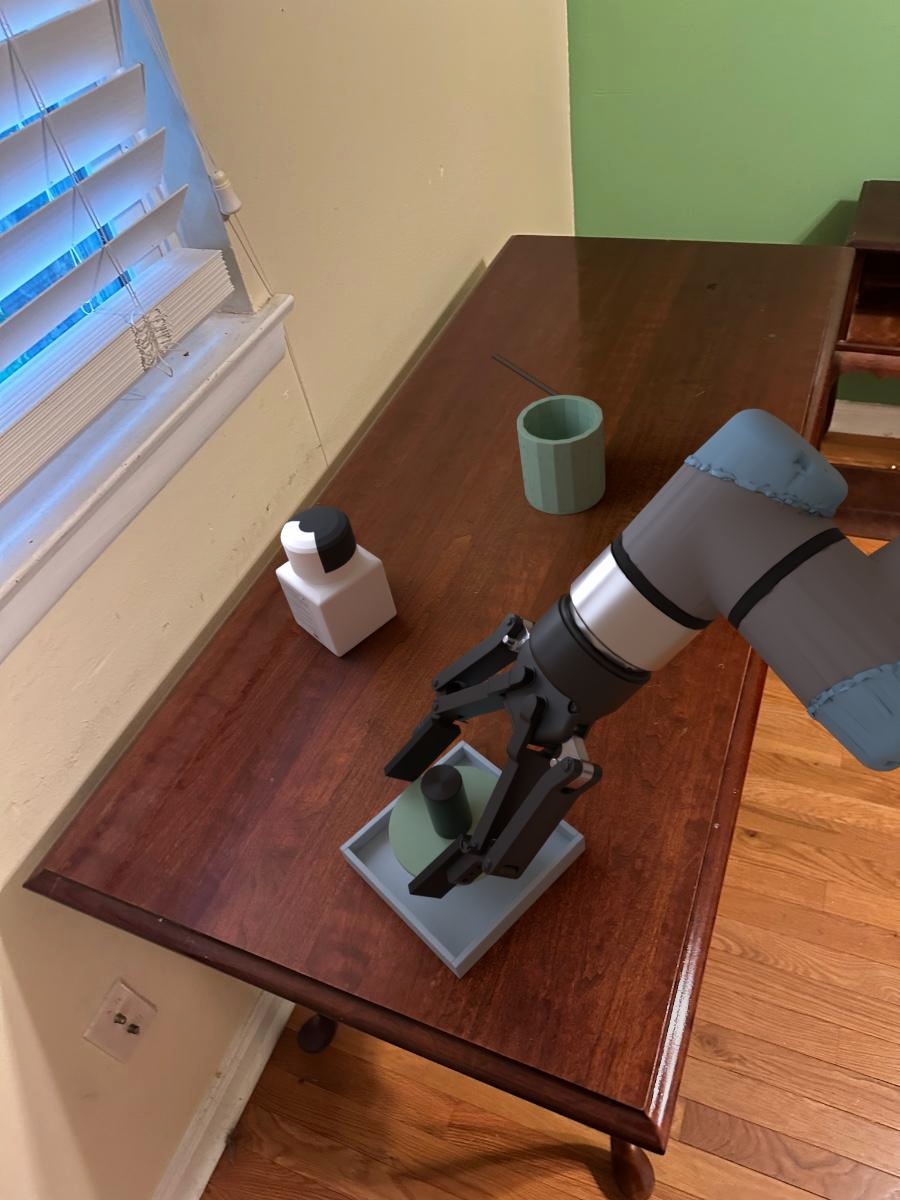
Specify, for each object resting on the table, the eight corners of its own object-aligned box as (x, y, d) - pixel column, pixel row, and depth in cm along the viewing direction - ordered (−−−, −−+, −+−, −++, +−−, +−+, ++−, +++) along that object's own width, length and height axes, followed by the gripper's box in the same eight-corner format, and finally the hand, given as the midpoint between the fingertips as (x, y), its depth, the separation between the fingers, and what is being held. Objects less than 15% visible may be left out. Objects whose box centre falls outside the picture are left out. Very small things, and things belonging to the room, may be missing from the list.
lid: (547, 825, 63) (539, 776, 59) (452, 919, 60) (436, 875, 55) (457, 752, 69) (444, 702, 64) (366, 833, 65) (344, 787, 61)
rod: (574, 412, 108) (574, 407, 107) (491, 358, 120) (491, 354, 120) (579, 410, 108) (579, 405, 107) (495, 357, 120) (495, 352, 120)
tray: (585, 849, 66) (584, 836, 64) (459, 979, 60) (455, 968, 59) (465, 753, 74) (462, 739, 72) (345, 860, 68) (339, 847, 67)
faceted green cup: (621, 483, 96) (620, 411, 89) (568, 525, 92) (562, 454, 86) (561, 456, 101) (556, 386, 94) (509, 494, 98) (499, 425, 91)
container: (353, 582, 91) (321, 486, 82) (398, 615, 87) (370, 517, 78) (295, 623, 88) (256, 528, 79) (339, 659, 84) (303, 563, 74)
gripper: (729, 788, 47) (487, 979, 57) (593, 541, 62) (422, 726, 73) (638, 761, 43) (395, 972, 53) (516, 503, 58) (347, 706, 69)
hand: (410, 830), depth 63 cm, fingers closed on lid, 9 cm apart
